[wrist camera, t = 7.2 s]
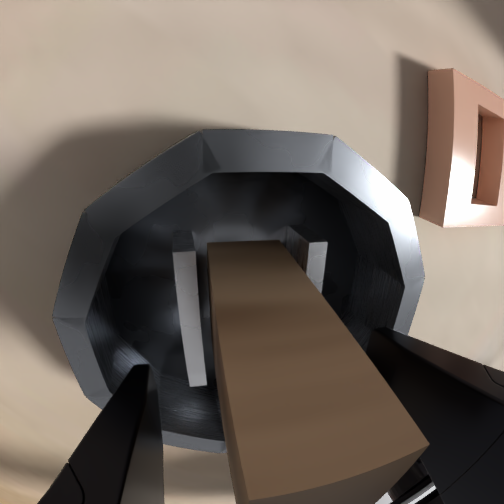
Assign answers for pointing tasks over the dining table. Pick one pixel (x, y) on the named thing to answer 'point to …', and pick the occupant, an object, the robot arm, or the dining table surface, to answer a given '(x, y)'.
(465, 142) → the rest block
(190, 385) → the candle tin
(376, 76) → the dining table surface
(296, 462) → the tan bar
